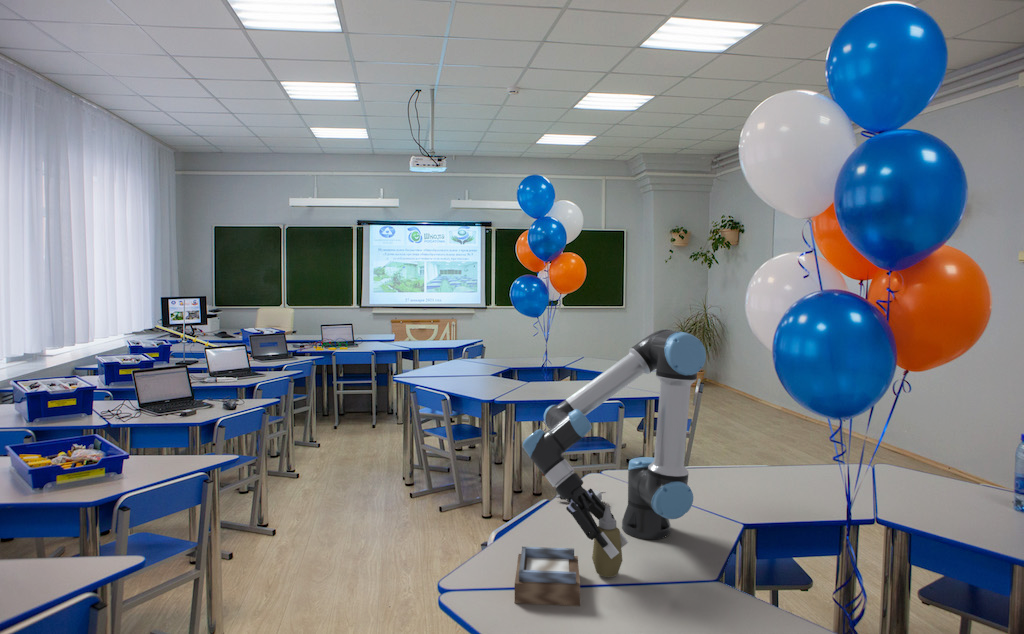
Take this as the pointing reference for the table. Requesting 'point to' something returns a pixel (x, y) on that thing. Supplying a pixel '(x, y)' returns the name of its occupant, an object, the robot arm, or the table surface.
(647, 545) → the table surface
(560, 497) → the robot toy
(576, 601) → the dock
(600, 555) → the squeeze bottle
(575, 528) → the table surface
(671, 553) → the table surface
